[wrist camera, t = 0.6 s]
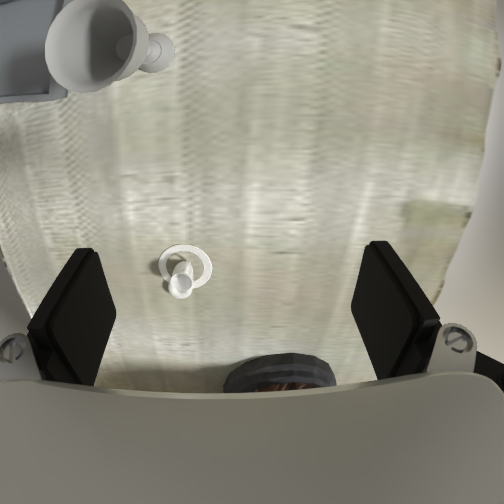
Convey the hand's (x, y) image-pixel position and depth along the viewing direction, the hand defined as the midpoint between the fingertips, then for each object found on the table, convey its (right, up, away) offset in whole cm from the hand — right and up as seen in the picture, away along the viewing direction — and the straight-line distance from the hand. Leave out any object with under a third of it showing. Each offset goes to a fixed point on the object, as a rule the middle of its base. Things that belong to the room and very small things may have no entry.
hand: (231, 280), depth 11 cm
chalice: (-11, +24, +19) cm, 32 cm away
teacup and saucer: (-12, -2, +36) cm, 38 cm away
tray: (-29, +28, +15) cm, 43 cm away
